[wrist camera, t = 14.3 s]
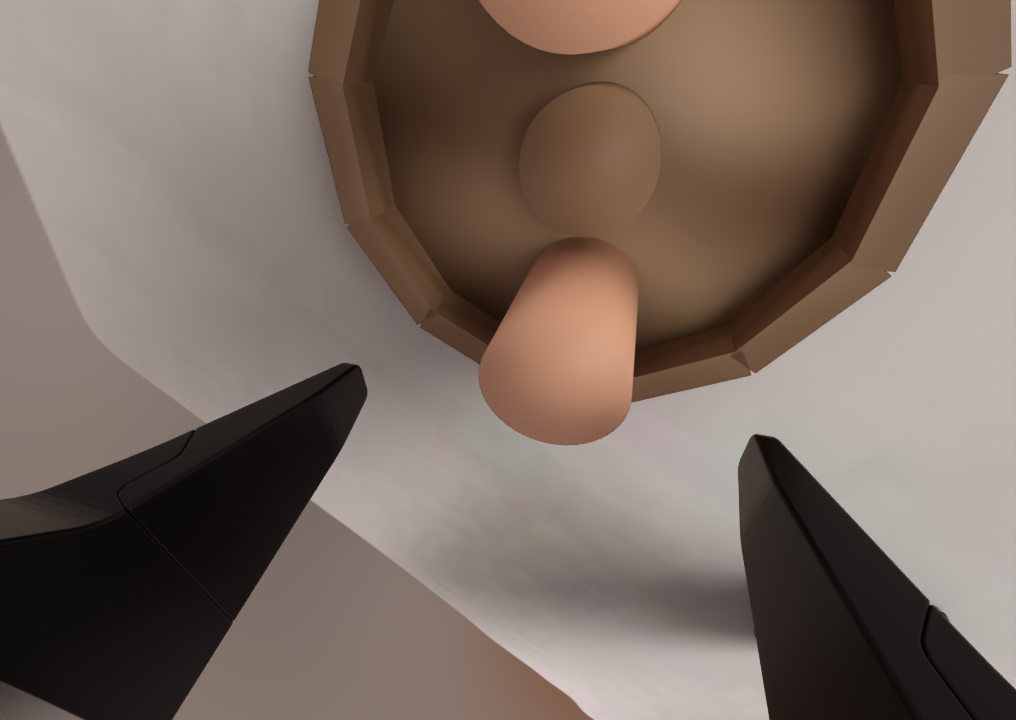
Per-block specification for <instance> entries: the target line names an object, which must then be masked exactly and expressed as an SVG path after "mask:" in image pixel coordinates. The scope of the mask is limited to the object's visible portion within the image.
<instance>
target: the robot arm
mask: <svg viewBox="0 0 1016 720" xmlns="http://www.w3.org/2000/svg"><path fill="white" fill-rule="evenodd" d="M366 398H367V387H366V383H365V380H364V376H363V373H362V370H361V368H360V367H359V366H358V365H355V364H349V363H342V364H339V365H337V366H335V367H332V368H330V369H328V370H326V371H324V372H321V373H319V374H317V375H315V376H312V377H310V378H308V379H306V380H303V381H301V382H299V383H297V384H295V385H292V386H290V387H288V388H286V389H283V390H281V391H279V392H277V393H274V394H272V395H270V396H268V397H266V398H263V399H261V400H259V401H257V402H254V403H252V404H250V405H248V406H245V407H243V408H241V409H239V410H236V411H234V412H232V413H230V414H228V415H225V416H223V417H221V418H219V419H216V420H214V421H212V422H210V423H207V424H205V425H203V426H201V427H199V428H197V429H196V430H192V431H190V432H187V433H185V434H183V435H181V436H179V437H176V438H174V439H172V440H170V441H167V442H165V443H162V444H160V445H158V446H155V447H153V448H151V449H148V450H146V451H143V452H141V453H139V454H136V455H134V456H131V457H129V458H126V459H124V460H121V461H118V462H116V463H113V464H111V465H108V466H106V467H103V468H100V469H98V470H95V471H93V472H90V473H87V474H85V475H82V476H80V477H77V478H75V479H72V480H69V481H67V482H64V483H62V484H59V485H57V486H54V487H51V488H49V489H46V490H43V491H40V492H36V493H33V494H30V495H25V496H21V497H16V498H10V499H3V500H0V720H172V719H173V718H174V716H175V714H176V713H177V711H178V709H179V708H180V706H181V705H182V703H183V702H184V700H185V698H186V697H187V695H188V694H189V692H190V690H191V689H192V687H193V686H194V684H195V682H196V681H197V679H198V678H199V676H200V675H201V673H202V671H203V670H204V668H205V667H206V665H207V663H208V662H209V660H210V658H211V657H212V655H213V654H214V652H215V651H216V649H217V647H218V646H219V644H220V643H221V641H222V639H223V638H224V636H225V635H226V633H227V631H228V630H229V628H230V627H231V625H232V623H233V620H235V618H236V617H237V615H238V613H239V612H240V610H241V609H242V607H243V606H244V604H245V602H246V601H247V599H248V598H249V596H250V594H251V593H252V591H253V590H254V588H255V586H256V585H257V583H258V582H259V580H260V578H261V577H262V575H263V574H264V572H265V570H266V569H267V567H268V566H269V564H270V563H271V561H272V559H273V558H274V556H275V555H276V553H277V551H278V550H279V548H280V546H281V545H282V543H283V542H284V540H285V539H286V537H287V535H288V534H289V532H290V531H291V529H292V527H293V526H294V524H295V523H296V521H297V519H298V517H299V516H300V515H301V513H302V511H303V510H304V508H305V507H306V505H307V503H308V502H309V500H310V499H311V497H312V496H313V494H314V492H315V491H316V489H317V488H318V486H319V484H320V483H321V481H322V480H323V478H324V476H325V475H326V473H327V472H328V470H329V468H330V467H331V465H332V464H333V462H334V460H335V459H336V457H337V456H338V454H339V452H340V451H341V449H342V447H343V445H344V443H345V441H346V439H347V437H348V435H349V433H350V431H351V429H352V427H353V425H354V423H355V421H356V419H357V417H358V415H359V413H360V411H361V409H362V407H363V405H364V402H365V400H366ZM738 484H739V513H740V537H741V546H742V553H743V560H744V566H745V572H746V578H747V584H748V590H749V597H750V603H751V609H752V615H753V621H754V634H755V637H756V640H757V646H758V652H759V658H760V664H761V671H762V677H763V683H764V689H765V695H766V701H767V708H768V714H769V720H1016V689H1015V688H1014V687H1013V686H1012V685H1011V684H1010V683H1009V682H1008V681H1007V680H1006V679H1005V678H1004V677H1003V676H1002V675H1001V674H1000V673H999V672H998V671H997V670H996V669H995V668H993V666H992V665H991V664H990V663H989V662H988V661H987V660H986V659H985V658H984V657H983V656H982V655H981V654H980V653H979V652H978V651H977V650H976V649H975V648H974V647H973V646H972V645H971V644H970V643H969V642H968V641H967V640H966V639H965V638H964V637H963V636H962V634H961V633H960V632H959V631H958V630H957V629H956V628H955V627H954V626H953V625H952V624H951V623H950V621H949V619H948V617H947V615H946V614H945V613H943V612H941V611H939V610H938V609H937V608H936V607H935V606H933V605H929V604H930V602H929V600H928V599H927V598H926V596H925V595H924V594H923V593H922V592H921V591H920V590H919V589H918V588H917V587H916V586H915V585H914V584H913V583H912V582H911V580H910V579H909V578H908V577H907V576H906V575H905V574H904V573H903V572H902V571H901V570H900V569H899V568H898V567H897V566H896V564H895V563H894V562H893V561H892V560H891V559H890V558H889V557H888V556H887V555H886V554H885V553H884V552H883V551H882V550H881V548H880V547H879V546H878V545H877V544H876V543H875V542H874V541H873V540H872V539H871V538H870V537H869V536H868V535H867V534H866V532H865V531H864V530H863V529H862V528H861V527H860V526H859V525H858V524H857V523H856V522H855V521H854V520H853V519H852V518H851V516H850V515H849V514H848V513H847V512H846V511H845V510H844V509H843V508H842V507H841V506H840V505H839V504H838V503H837V501H836V500H835V499H834V498H833V497H832V496H831V495H830V494H829V493H828V492H827V491H826V490H825V489H824V488H823V487H822V485H821V484H820V483H819V482H818V481H817V480H816V479H815V478H814V477H813V476H812V475H811V474H810V473H809V472H808V471H807V469H806V468H805V467H804V466H803V465H802V464H801V463H800V462H799V461H798V460H797V459H796V458H795V457H794V456H793V455H792V453H791V452H790V451H789V450H788V449H787V448H786V447H785V446H784V445H783V444H782V443H781V442H780V441H779V440H778V439H777V438H775V437H771V436H765V435H759V434H755V435H753V436H752V437H751V438H750V440H749V442H748V444H747V446H746V448H745V450H744V452H743V455H742V457H741V459H740V462H739V466H738Z"/></svg>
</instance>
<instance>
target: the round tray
mask: <svg viewBox="0 0 1016 720" xmlns="http://www.w3.org/2000/svg"><path fill="white" fill-rule="evenodd" d="M1010 67H1011V0H682V1H681V2H680V4H679V5H678V6H677V8H676V9H675V10H674V12H673V13H672V14H671V15H670V16H669V17H668V18H667V20H666V21H665V22H663V23H662V24H661V25H660V26H659V27H658V28H657V29H656V30H654V31H653V32H652V33H650V34H649V35H648V36H646V37H644V38H642V39H641V40H639V41H637V42H635V43H632V44H630V45H627V46H624V47H620V48H616V49H610V50H604V51H598V52H592V53H585V54H573V55H569V54H556V53H551V52H547V51H543V50H539V49H537V48H535V47H532V46H530V45H528V44H525V43H523V42H522V41H520V40H519V39H517V38H515V37H514V36H512V35H511V34H510V33H508V32H507V31H506V30H505V29H504V28H503V27H501V26H500V25H499V24H498V23H497V22H496V21H495V20H494V19H493V18H492V16H491V15H490V14H489V13H488V12H487V11H486V10H485V8H484V7H483V5H482V4H481V2H480V1H479V0H319V6H318V12H317V18H316V25H315V31H314V37H313V44H312V50H311V56H310V63H309V69H308V72H309V73H311V74H312V75H314V76H313V77H309V81H310V85H311V89H312V93H313V97H314V101H315V105H316V109H317V113H318V117H319V121H320V125H321V129H322V133H323V137H324V141H325V145H326V149H327V153H328V157H329V161H330V165H331V169H332V173H333V177H334V181H335V185H336V189H337V193H338V197H339V201H340V205H341V209H342V213H343V217H344V221H345V224H351V225H349V226H348V227H347V228H348V230H349V231H350V232H351V234H352V235H353V237H354V238H355V239H356V241H357V242H358V243H359V245H360V246H361V248H362V249H363V250H364V252H365V253H366V254H367V256H368V257H369V259H370V260H371V261H372V263H373V264H374V265H375V267H376V268H377V270H378V271H379V272H380V274H381V275H382V276H383V278H384V279H385V281H386V282H387V283H388V285H389V286H390V288H391V289H392V290H393V292H394V293H395V294H396V296H397V297H398V299H399V300H400V301H401V303H402V304H403V305H404V307H405V308H406V310H407V311H408V312H409V314H410V315H411V316H412V318H413V319H414V321H415V322H416V323H417V325H418V324H420V323H422V324H421V326H420V327H421V328H422V329H424V330H426V331H427V332H429V333H430V334H432V335H434V336H435V337H437V338H438V339H440V340H442V341H443V342H445V343H446V344H448V345H450V346H451V347H453V348H454V349H456V350H458V351H459V352H461V353H462V354H464V355H466V356H467V357H469V358H470V359H472V360H474V361H475V362H477V363H478V364H480V362H481V360H482V357H483V355H484V353H485V351H486V349H487V348H488V346H489V344H490V342H491V340H492V338H493V337H494V335H495V333H496V331H497V329H498V328H499V326H500V324H501V322H502V320H503V318H504V317H505V315H506V313H507V311H508V309H509V308H510V306H511V304H512V302H513V300H514V298H515V297H516V295H517V293H518V291H519V289H520V288H521V286H522V284H523V282H524V280H525V278H526V277H527V275H528V273H529V271H530V269H531V268H532V266H533V264H534V262H535V260H536V259H537V258H538V256H539V255H540V254H541V253H542V252H543V251H544V250H545V249H546V248H548V247H549V246H550V245H552V244H554V243H556V242H558V241H560V240H563V239H566V238H570V237H587V238H589V237H594V238H598V239H601V240H604V241H606V242H609V243H611V244H612V245H614V246H616V247H617V248H618V249H620V250H621V251H622V252H623V253H624V254H625V255H626V256H627V257H628V259H629V260H630V261H631V263H632V265H633V266H634V268H635V271H636V274H637V277H638V282H639V296H638V311H637V326H636V342H635V357H634V372H633V387H632V399H631V402H635V401H640V400H644V399H649V398H653V397H658V396H662V395H666V394H671V393H675V392H680V391H684V390H688V389H693V388H697V387H702V386H706V385H711V384H715V383H719V382H724V381H728V380H733V379H737V378H741V377H746V376H750V375H751V372H750V370H751V371H753V372H754V373H757V372H758V371H760V370H761V369H762V368H764V367H765V366H767V365H768V364H769V363H771V362H772V361H774V360H775V359H776V358H778V357H779V356H781V355H782V354H783V353H785V352H786V351H788V350H789V349H790V348H792V347H793V346H795V345H796V344H797V343H799V342H800V341H802V340H803V339H804V338H806V337H807V336H809V335H810V334H811V333H813V332H814V331H816V330H817V329H818V328H820V327H821V326H823V325H824V324H825V323H827V322H828V321H830V320H831V319H832V318H834V317H835V316H837V315H838V314H839V313H841V312H842V311H844V310H845V309H846V308H848V307H849V306H851V305H852V304H853V303H855V302H856V301H858V300H859V299H860V298H862V297H863V296H865V295H866V294H867V293H869V292H870V291H872V290H873V289H874V288H876V287H877V286H879V285H880V284H881V283H883V282H884V281H886V280H887V279H888V278H890V277H891V275H890V274H889V273H888V272H887V271H891V272H896V270H897V268H898V267H899V265H900V263H901V261H902V260H903V258H904V256H905V254H906V253H907V251H908V249H909V247H910V246H911V244H912V242H913V240H914V239H915V237H916V235H917V233H918V232H919V230H920V228H921V227H922V225H923V223H924V221H925V220H926V218H927V216H928V214H929V213H930V211H931V209H932V207H933V206H934V204H935V202H936V200H937V199H938V197H939V195H940V193H941V192H942V190H943V188H944V186H945V185H946V183H947V181H948V180H949V178H950V176H951V174H952V173H953V171H954V169H955V167H956V166H957V164H958V162H959V160H960V159H961V157H962V155H963V153H964V152H965V150H966V148H967V146H968V145H969V143H970V141H971V140H972V138H973V136H974V134H975V133H976V131H977V129H978V127H979V126H980V124H981V122H982V120H983V119H984V117H985V115H986V113H987V112H988V110H989V108H990V106H991V105H992V103H993V101H994V100H995V98H996V96H997V94H998V93H999V91H1000V89H1001V87H1002V86H1003V84H1004V82H1005V80H1006V79H1007V77H1008V75H1009V74H999V73H998V72H1001V71H1003V70H1005V69H1008V68H1010Z"/></svg>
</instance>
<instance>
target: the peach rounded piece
mask: <svg viewBox="0 0 1016 720" xmlns="http://www.w3.org/2000/svg"><path fill="white" fill-rule="evenodd" d="M479 1H480V2H481V4H482V5H483V7H484V8H485V10H486V11H487V12H488V13H489V14H490V15H491V16H492V18H493V19H494V20H495V21H496V22H497V23H498V24H499V25H500V26H501V27H503V28H504V29H505V30H506V31H507V32H508V33H510V34H511V35H512V36H514V37H515V38H517V39H519V40H520V41H522V42H523V43H525V44H528V45H530V46H532V47H535V48H537V49H539V50H543V51H547V52H551V53H556V54H569V55H573V54H585V53H592V52H598V51H604V50H610V49H616V48H620V47H624V46H627V45H630V44H632V43H635V42H637V41H639V40H641V39H642V38H644V37H646V36H648V35H649V34H650V33H652V32H653V31H654V30H656V29H657V28H658V27H659V26H660V25H661V24H662V23H663V22H665V21H666V20H667V18H668V17H669V16H670V15H671V14H672V13H673V12H674V10H675V9H676V8H677V6H678V5H679V4H680V2H681V1H682V0H479Z"/></svg>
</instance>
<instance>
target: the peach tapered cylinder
mask: <svg viewBox="0 0 1016 720" xmlns="http://www.w3.org/2000/svg"><path fill="white" fill-rule="evenodd" d="M638 296H639V282H638V277H637V274H636V271H635V268H634V266H633V265H632V263H631V261H630V260H629V259H628V257H627V256H626V255H625V254H624V253H623V252H622V251H621V250H620V249H618V248H617V247H616V246H614V245H612V244H611V243H609V242H606V241H604V240H601V239H598V238H594V237H589V238H587V237H570V238H566V239H563V240H560V241H558V242H556V243H554V244H552V245H550V246H549V247H548V248H546V249H545V250H544V251H543V252H542V253H541V254H540V255H539V256H538V258H537V259H536V260H535V262H534V264H533V266H532V268H531V269H530V271H529V273H528V275H527V277H526V278H525V280H524V282H523V284H522V286H521V288H520V289H519V291H518V293H517V295H516V297H515V298H514V300H513V302H512V304H511V306H510V308H509V309H508V311H507V313H506V315H505V317H504V318H503V320H502V322H501V324H500V326H499V328H498V329H497V331H496V333H495V335H494V337H493V338H492V340H491V342H490V344H489V346H488V348H487V349H486V351H485V353H484V355H483V357H482V360H481V362H480V367H479V384H480V388H481V391H482V394H483V396H484V398H485V401H486V402H487V404H488V405H489V407H490V408H491V410H492V411H493V412H494V413H495V414H496V415H497V416H498V418H499V419H500V420H502V421H503V422H504V423H505V424H506V425H508V426H509V427H511V428H512V429H514V430H515V431H517V432H519V433H521V434H522V435H525V436H527V437H529V438H532V439H535V440H538V441H541V442H545V443H550V444H556V445H578V444H585V443H589V442H593V441H596V440H598V439H601V438H603V437H605V436H607V435H608V434H610V433H611V432H613V431H614V430H615V429H616V428H617V427H618V426H619V425H620V424H621V423H622V422H623V420H624V419H625V417H626V415H627V414H628V412H629V409H630V405H631V399H632V387H633V372H634V357H635V342H636V326H637V311H638Z"/></svg>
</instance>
